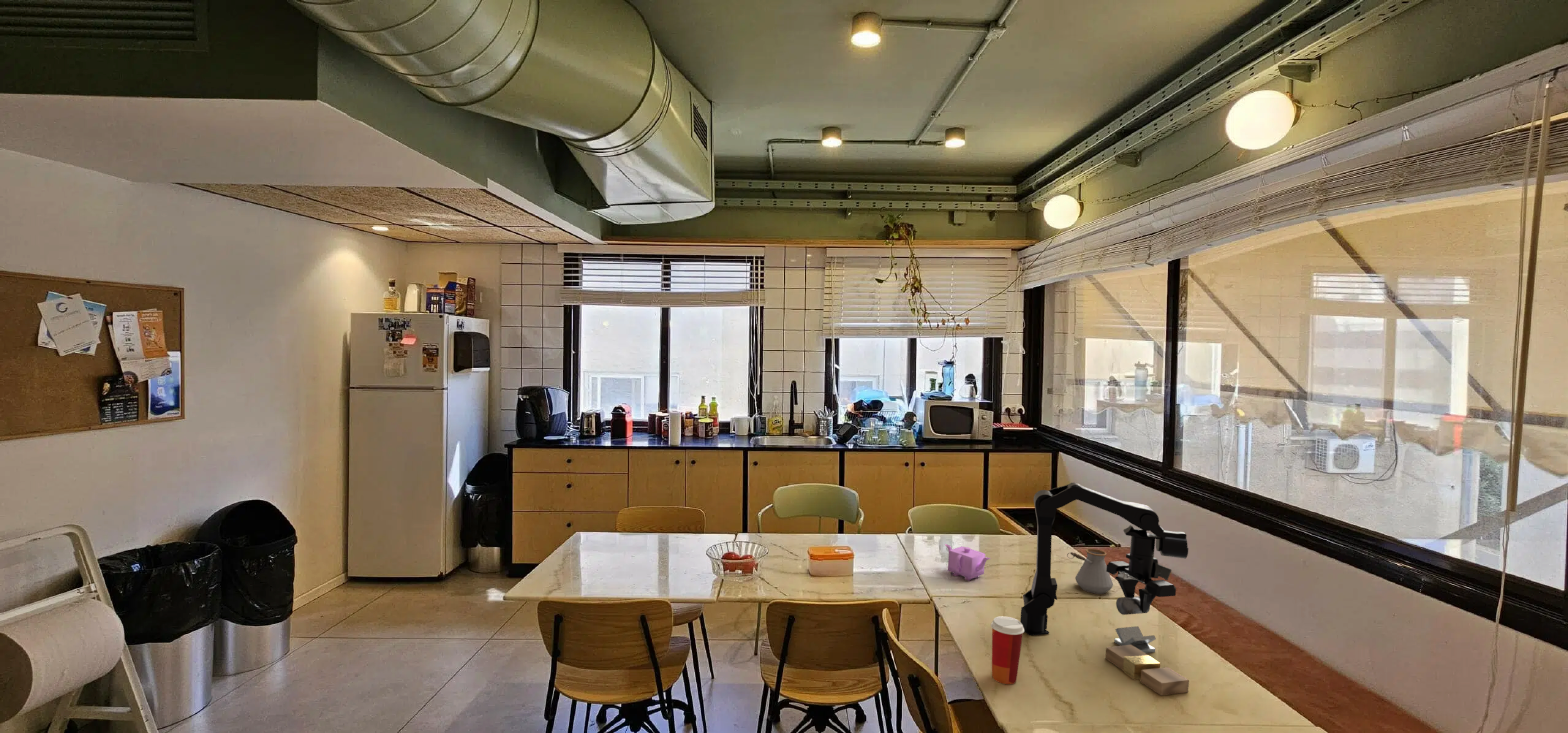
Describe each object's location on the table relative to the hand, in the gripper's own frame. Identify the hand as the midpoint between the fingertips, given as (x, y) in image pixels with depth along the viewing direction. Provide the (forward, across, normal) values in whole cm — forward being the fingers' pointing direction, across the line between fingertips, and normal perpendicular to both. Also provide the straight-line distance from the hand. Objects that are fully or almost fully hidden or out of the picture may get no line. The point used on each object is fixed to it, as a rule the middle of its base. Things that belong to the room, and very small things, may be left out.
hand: (1137, 609), depth 182 cm
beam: (+11, -13, +9) cm, 19 cm away
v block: (+11, 0, 0) cm, 11 cm away
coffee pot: (+11, +36, -14) cm, 40 cm away
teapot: (+11, +56, +18) cm, 60 cm away
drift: (+11, -13, +10) cm, 20 cm away
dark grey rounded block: (+1, 0, +2) cm, 2 cm away
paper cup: (+11, -8, +46) cm, 48 cm away
